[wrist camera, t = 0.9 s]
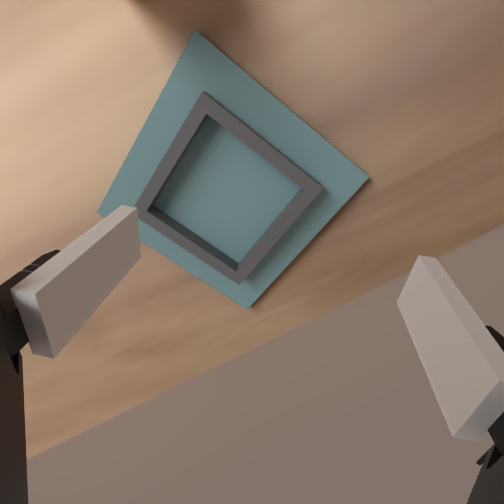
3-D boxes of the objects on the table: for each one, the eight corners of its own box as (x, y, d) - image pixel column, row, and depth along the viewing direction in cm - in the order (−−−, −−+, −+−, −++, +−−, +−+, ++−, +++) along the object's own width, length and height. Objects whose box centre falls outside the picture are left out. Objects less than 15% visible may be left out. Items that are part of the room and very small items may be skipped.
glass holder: (197, 32, 27) (189, 24, 24) (366, 174, 31) (375, 181, 28) (101, 209, 34) (86, 218, 32) (247, 304, 39) (245, 320, 36)
